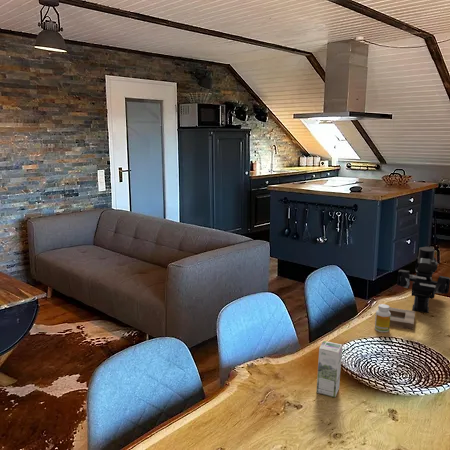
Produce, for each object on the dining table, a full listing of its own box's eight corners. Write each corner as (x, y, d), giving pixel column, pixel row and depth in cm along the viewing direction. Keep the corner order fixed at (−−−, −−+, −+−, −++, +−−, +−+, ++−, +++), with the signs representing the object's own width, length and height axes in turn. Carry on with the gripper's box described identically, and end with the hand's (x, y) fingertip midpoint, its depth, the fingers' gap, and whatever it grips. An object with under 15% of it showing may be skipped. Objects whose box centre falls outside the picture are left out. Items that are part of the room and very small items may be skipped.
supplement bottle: (391, 332, 179) (393, 308, 177) (376, 332, 179) (379, 308, 177) (386, 326, 184) (388, 303, 182) (372, 326, 184) (374, 303, 182)
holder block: (379, 311, 199) (379, 305, 199) (414, 317, 194) (415, 311, 193) (375, 323, 187) (375, 317, 186) (412, 330, 181) (413, 323, 181)
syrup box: (339, 388, 140) (343, 343, 137) (335, 398, 135) (338, 351, 132) (320, 383, 142) (323, 339, 139) (315, 393, 137) (318, 347, 134)
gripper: (401, 252, 191) (397, 265, 178) (452, 259, 184) (452, 273, 170) (398, 278, 194) (394, 292, 181) (448, 286, 187) (447, 301, 173)
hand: (421, 289), depth 176 cm, fingers open, 9 cm apart
